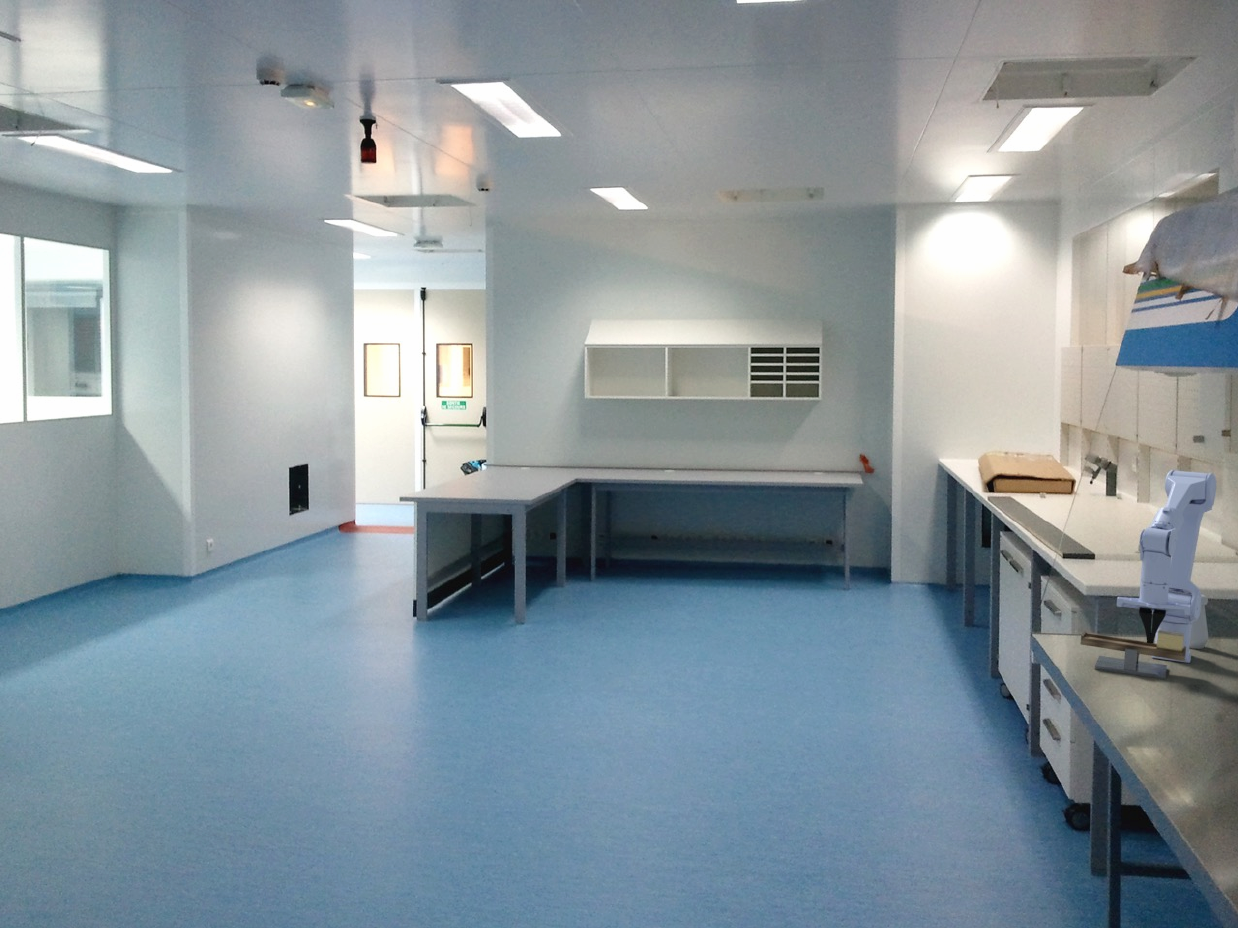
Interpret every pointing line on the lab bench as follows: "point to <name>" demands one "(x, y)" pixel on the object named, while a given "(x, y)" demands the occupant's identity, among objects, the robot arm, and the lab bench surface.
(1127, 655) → the pivot stand
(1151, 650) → the beam
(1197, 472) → the robot arm
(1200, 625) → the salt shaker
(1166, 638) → the block
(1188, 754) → the lab bench surface
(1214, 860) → the lab bench surface
